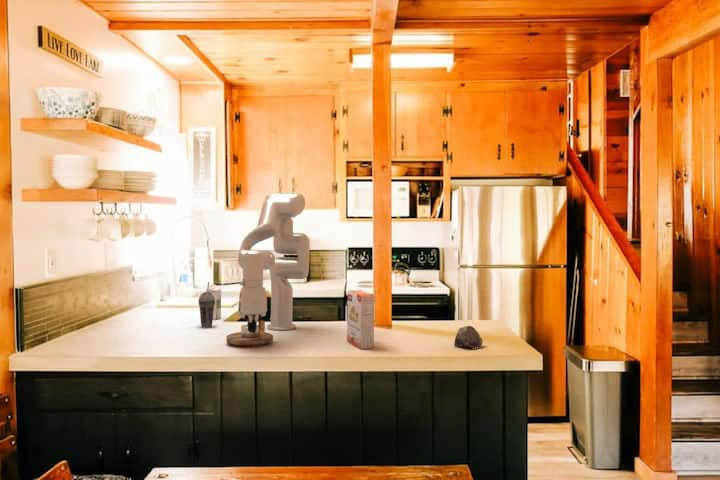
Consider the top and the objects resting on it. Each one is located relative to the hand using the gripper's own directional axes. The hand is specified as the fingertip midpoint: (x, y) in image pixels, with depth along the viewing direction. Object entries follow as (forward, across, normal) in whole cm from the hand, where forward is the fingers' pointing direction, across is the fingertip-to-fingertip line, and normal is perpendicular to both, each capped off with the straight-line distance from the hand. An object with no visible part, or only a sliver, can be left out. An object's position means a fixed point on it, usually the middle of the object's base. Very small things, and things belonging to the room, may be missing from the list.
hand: (252, 332), depth 221 cm
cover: (+3, +2, +7) cm, 8 cm away
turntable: (+5, +2, +7) cm, 9 cm away
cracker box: (+6, +39, -16) cm, 42 cm away
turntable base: (+6, +2, +7) cm, 9 cm away
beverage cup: (+5, -3, +46) cm, 47 cm away
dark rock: (+6, +75, -38) cm, 84 cm away
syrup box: (+5, +6, +63) cm, 64 cm away
